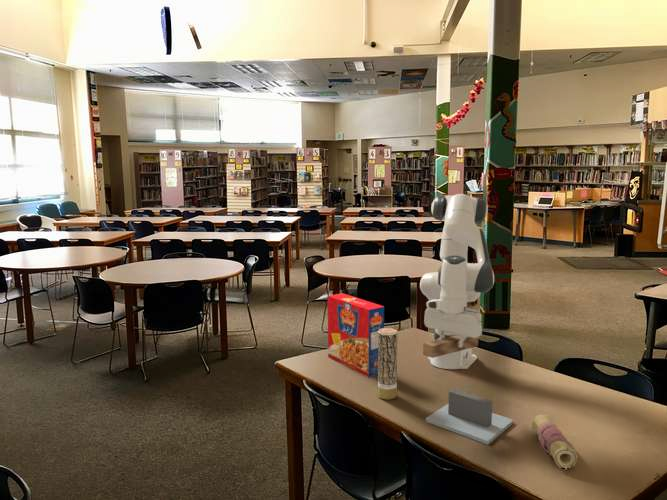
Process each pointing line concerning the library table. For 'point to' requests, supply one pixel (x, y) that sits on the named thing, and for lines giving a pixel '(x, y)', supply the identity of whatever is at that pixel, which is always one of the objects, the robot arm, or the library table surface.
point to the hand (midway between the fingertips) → (451, 344)
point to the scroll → (554, 442)
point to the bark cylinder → (387, 363)
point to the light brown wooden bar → (447, 346)
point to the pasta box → (354, 332)
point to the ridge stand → (470, 417)
